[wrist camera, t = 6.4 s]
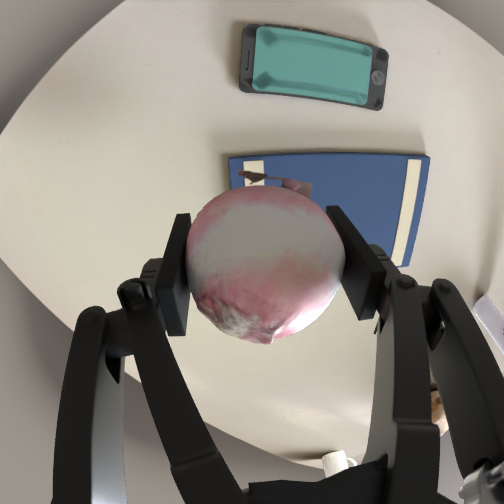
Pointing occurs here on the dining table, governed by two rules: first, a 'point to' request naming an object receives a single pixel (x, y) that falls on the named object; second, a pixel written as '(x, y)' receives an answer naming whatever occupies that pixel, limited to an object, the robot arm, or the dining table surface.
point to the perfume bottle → (491, 319)
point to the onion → (263, 259)
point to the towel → (354, 190)
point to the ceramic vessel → (438, 412)
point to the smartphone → (312, 66)
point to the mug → (335, 463)
